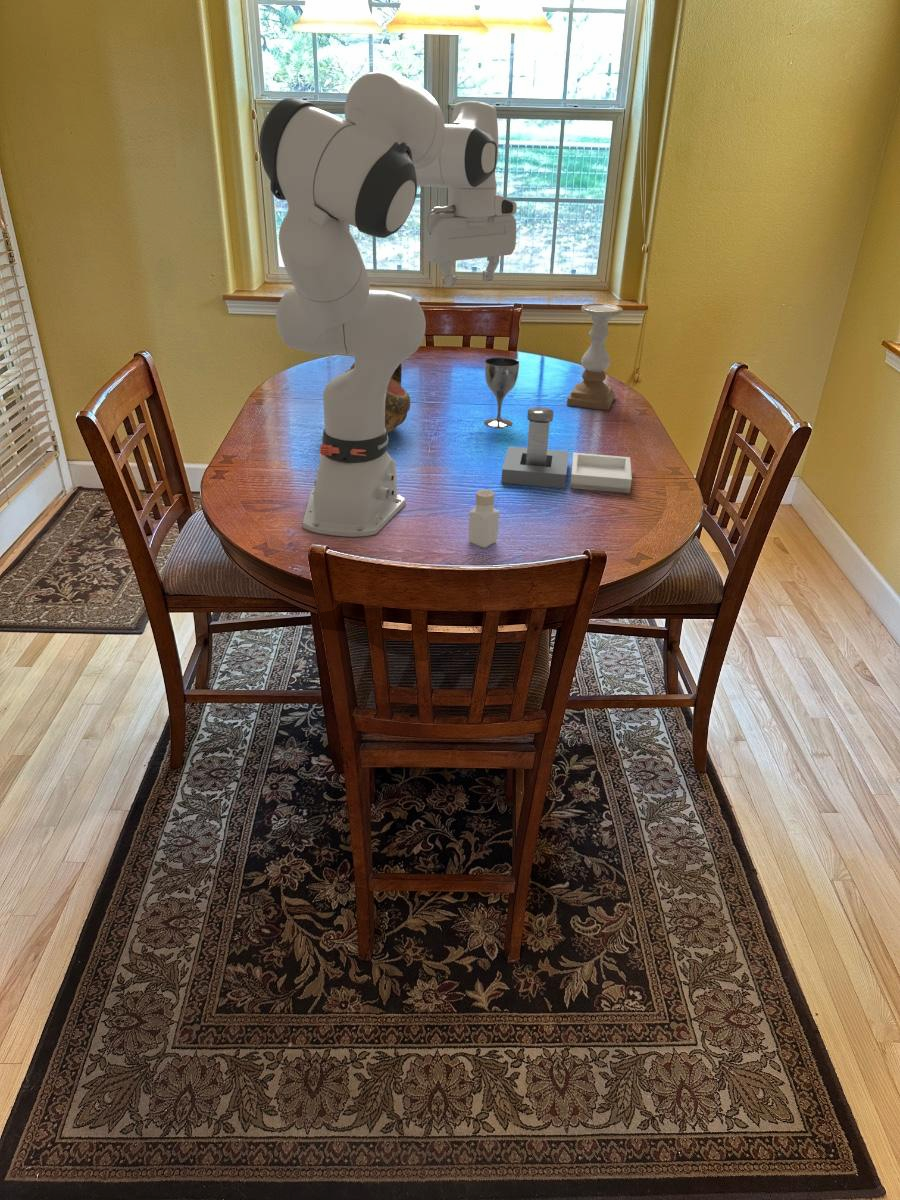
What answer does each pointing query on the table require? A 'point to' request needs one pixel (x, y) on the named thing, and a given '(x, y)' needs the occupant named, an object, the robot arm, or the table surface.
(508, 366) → the wine glass
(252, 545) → the table surface
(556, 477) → the holder block
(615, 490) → the tray
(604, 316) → the candle holder
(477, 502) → the pepper shaker
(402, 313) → the robot arm
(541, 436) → the pin
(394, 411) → the ceramic vessel
